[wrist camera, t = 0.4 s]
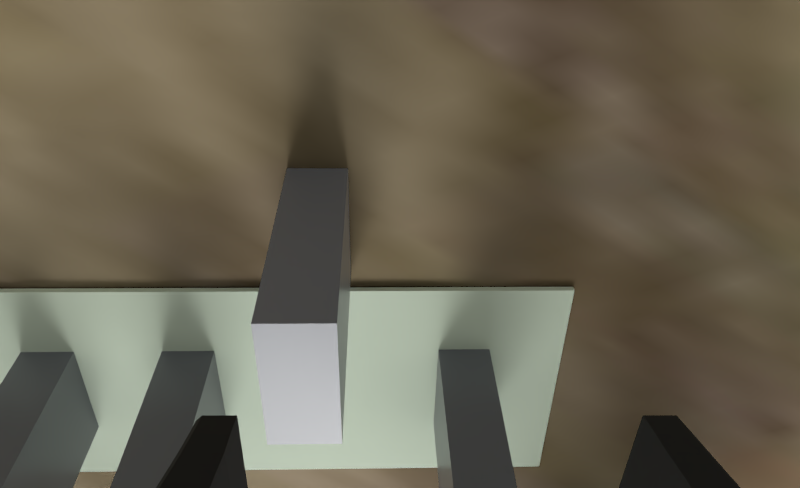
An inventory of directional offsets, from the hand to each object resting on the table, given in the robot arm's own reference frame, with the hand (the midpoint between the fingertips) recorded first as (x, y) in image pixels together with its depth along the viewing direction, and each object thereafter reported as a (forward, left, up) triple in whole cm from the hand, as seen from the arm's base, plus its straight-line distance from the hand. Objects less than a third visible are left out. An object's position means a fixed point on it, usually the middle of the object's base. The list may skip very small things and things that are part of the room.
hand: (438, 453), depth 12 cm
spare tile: (-1, +3, -10) cm, 10 cm away
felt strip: (-8, +8, -10) cm, 15 cm away
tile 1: (-8, -2, -10) cm, 13 cm away
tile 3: (-8, +8, -10) cm, 15 cm away
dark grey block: (-8, +13, -10) cm, 18 cm away
